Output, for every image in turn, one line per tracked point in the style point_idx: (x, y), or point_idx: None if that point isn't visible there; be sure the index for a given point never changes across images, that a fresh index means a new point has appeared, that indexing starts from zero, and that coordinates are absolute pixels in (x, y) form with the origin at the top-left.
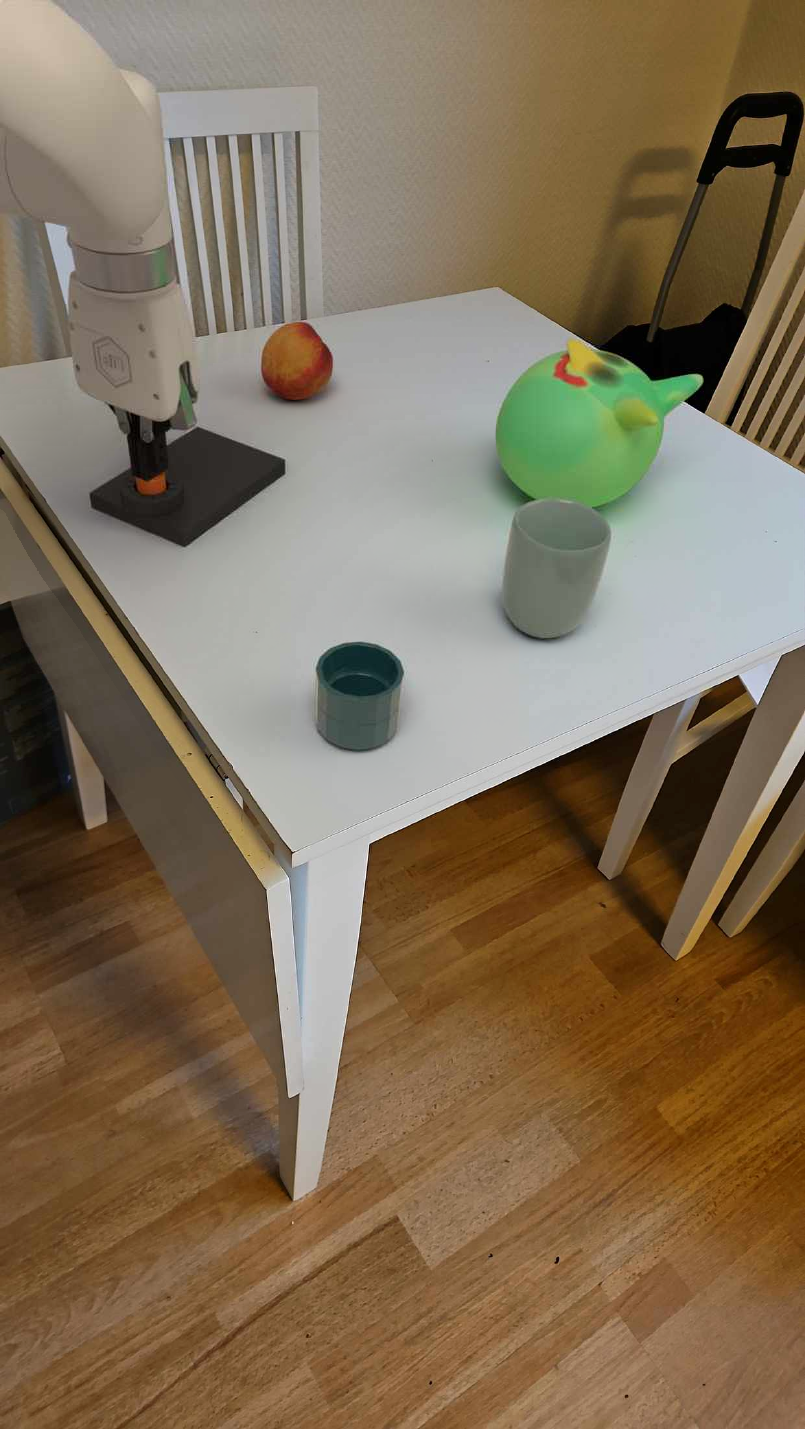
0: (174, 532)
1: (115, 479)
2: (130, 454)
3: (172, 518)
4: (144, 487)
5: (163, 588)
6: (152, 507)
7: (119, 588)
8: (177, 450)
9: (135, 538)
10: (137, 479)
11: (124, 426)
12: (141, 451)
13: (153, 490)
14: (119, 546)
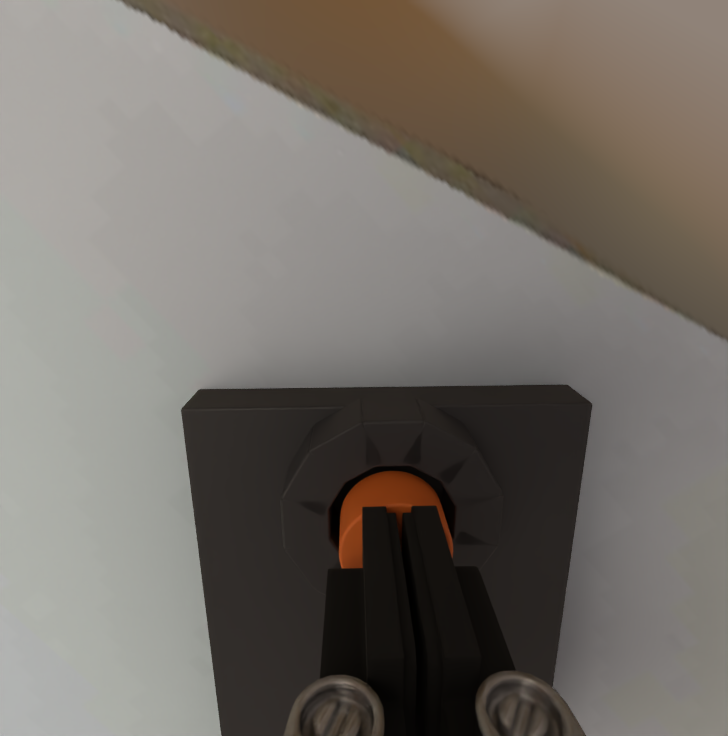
0: (223, 402)
1: (565, 508)
2: (448, 573)
3: (265, 448)
4: (379, 489)
5: (86, 180)
6: (318, 436)
7: (193, 88)
8: None
9: (350, 339)
10: (415, 502)
11: (530, 724)
12: (368, 609)
13: (352, 499)
14: (360, 277)
